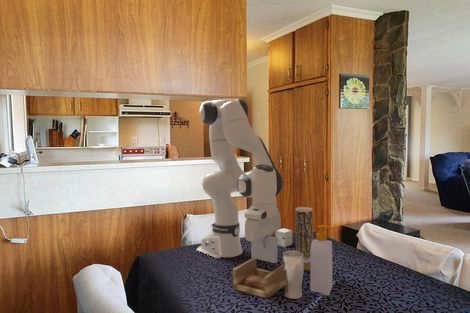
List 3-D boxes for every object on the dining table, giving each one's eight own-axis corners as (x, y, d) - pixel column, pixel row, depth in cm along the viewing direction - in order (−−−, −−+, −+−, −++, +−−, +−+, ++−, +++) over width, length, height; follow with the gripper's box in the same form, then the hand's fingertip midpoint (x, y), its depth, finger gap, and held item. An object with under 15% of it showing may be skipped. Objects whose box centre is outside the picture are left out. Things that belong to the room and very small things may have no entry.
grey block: (251, 257, 128) (251, 233, 128) (253, 256, 130) (253, 232, 129) (275, 263, 123) (275, 238, 122) (277, 261, 124) (277, 237, 124)
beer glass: (281, 293, 119) (280, 250, 119) (300, 292, 120) (300, 249, 119) (285, 302, 112) (285, 257, 112) (306, 301, 113) (306, 256, 112)
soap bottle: (331, 296, 116) (330, 229, 115) (310, 293, 119) (309, 228, 118) (334, 286, 124) (334, 223, 123) (315, 283, 127) (314, 221, 126)
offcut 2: (243, 287, 123) (243, 282, 123) (249, 283, 126) (249, 278, 126) (265, 293, 118) (265, 288, 117) (271, 288, 121) (271, 284, 121)
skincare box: (275, 244, 174) (275, 230, 173) (283, 242, 178) (283, 227, 177) (285, 247, 169) (284, 232, 169) (292, 244, 173) (292, 230, 173)
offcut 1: (245, 283, 122) (245, 279, 122) (250, 279, 125) (250, 275, 125) (266, 288, 118) (266, 283, 117) (271, 284, 121) (271, 279, 121)
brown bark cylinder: (313, 273, 136) (312, 210, 135) (295, 272, 138) (295, 210, 136) (313, 266, 143) (312, 207, 142) (296, 265, 144) (295, 206, 143)
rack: (233, 291, 122) (232, 269, 121) (254, 277, 133) (253, 257, 133) (267, 301, 114) (267, 277, 113) (286, 286, 125) (286, 264, 125)
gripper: (270, 203, 135) (270, 238, 136) (241, 214, 119) (241, 253, 120) (285, 205, 132) (284, 241, 133) (257, 216, 115) (257, 257, 116)
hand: (264, 247), depth 126 cm, fingers closed on grey block, 2 cm apart
